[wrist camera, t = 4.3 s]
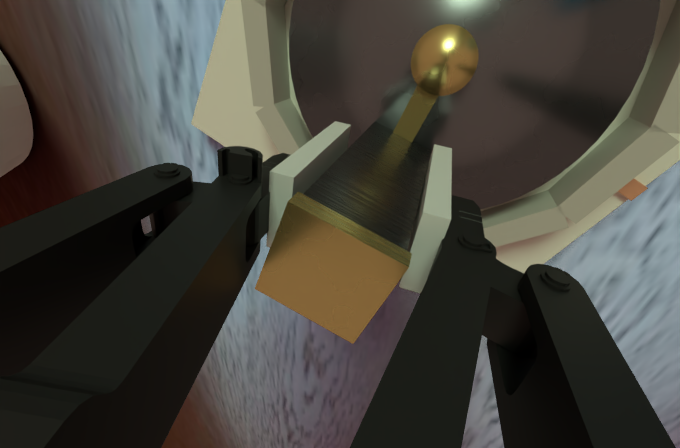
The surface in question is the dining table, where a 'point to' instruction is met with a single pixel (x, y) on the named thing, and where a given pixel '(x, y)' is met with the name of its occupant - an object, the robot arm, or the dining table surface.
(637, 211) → the dining table surface
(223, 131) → the dial board
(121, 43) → the dining table surface
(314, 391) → the dining table surface
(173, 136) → the dining table surface
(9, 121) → the bowl
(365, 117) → the dial
